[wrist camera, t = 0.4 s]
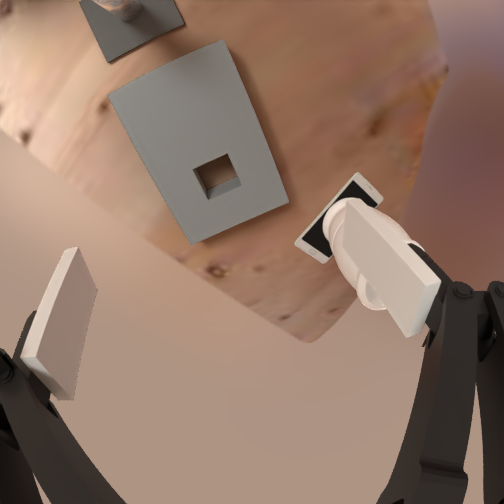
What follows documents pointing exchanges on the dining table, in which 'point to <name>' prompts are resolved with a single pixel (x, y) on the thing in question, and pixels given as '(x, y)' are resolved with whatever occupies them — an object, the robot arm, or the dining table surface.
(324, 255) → the smartphone
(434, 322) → the robot arm
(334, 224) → the jar
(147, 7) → the mat
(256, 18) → the dining table surface
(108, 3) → the peg
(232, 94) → the block with square hole
